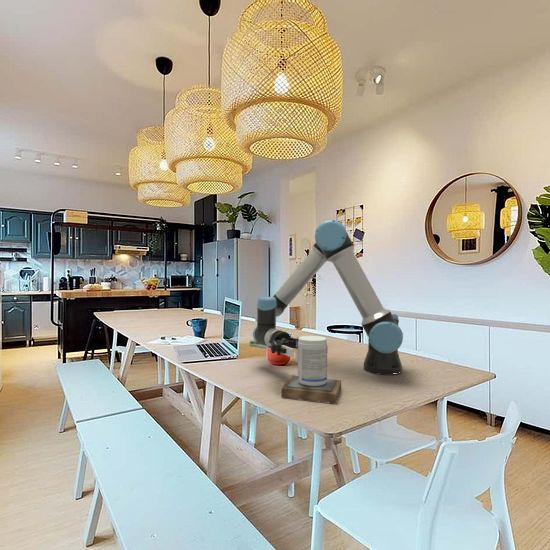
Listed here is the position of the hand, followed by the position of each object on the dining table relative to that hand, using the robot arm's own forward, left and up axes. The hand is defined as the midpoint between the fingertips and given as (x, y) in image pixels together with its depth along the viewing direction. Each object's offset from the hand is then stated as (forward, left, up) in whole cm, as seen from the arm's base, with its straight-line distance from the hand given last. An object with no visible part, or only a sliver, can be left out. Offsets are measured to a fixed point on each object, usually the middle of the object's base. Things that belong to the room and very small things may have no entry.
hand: (310, 351), depth 122 cm
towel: (+32, -69, -14) cm, 77 cm away
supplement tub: (-1, +1, -10) cm, 10 cm away
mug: (+7, -35, -14) cm, 39 cm away
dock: (-1, +1, -13) cm, 14 cm away
